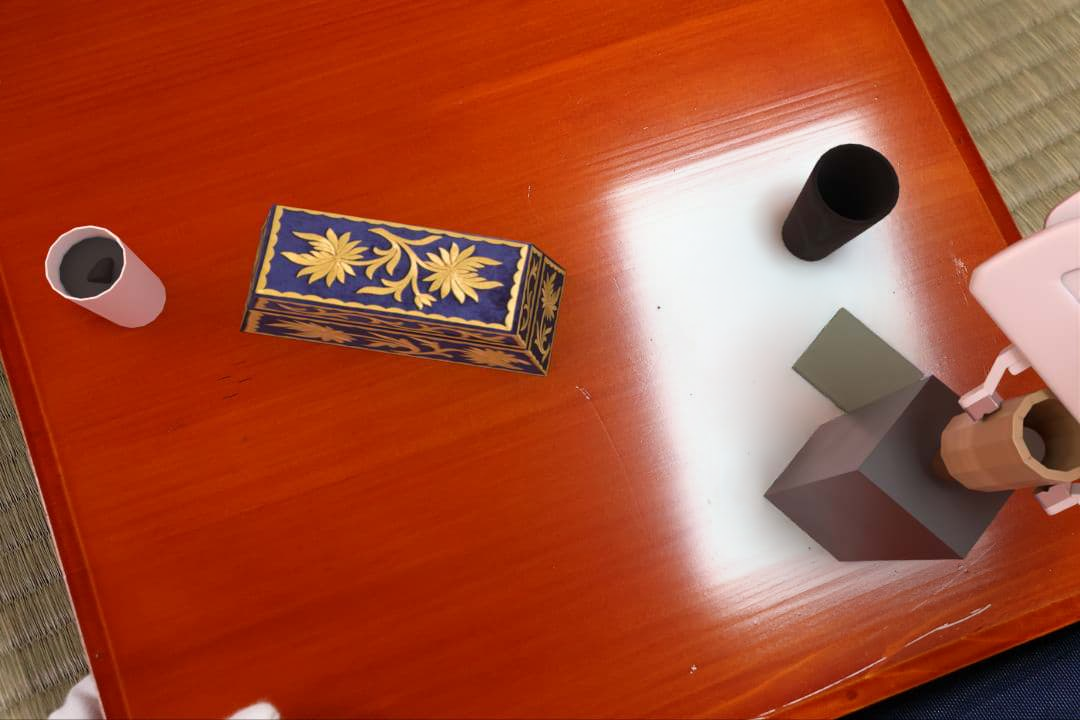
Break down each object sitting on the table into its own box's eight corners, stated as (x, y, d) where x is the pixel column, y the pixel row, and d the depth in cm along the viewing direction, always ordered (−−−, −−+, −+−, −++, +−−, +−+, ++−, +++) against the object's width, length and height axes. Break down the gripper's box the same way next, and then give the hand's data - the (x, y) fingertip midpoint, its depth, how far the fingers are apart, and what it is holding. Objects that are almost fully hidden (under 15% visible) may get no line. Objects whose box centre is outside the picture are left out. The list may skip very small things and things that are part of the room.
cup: (760, 210, 87) (799, 155, 75) (829, 191, 88) (879, 133, 76) (787, 280, 85) (832, 234, 74) (858, 259, 86) (913, 211, 74)
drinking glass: (174, 266, 83) (131, 226, 73) (166, 333, 81) (121, 301, 72) (104, 264, 83) (50, 224, 73) (94, 331, 81) (39, 299, 71)
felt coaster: (922, 375, 84) (925, 373, 83) (874, 436, 82) (876, 435, 81) (840, 308, 85) (842, 306, 84) (791, 367, 83) (793, 366, 83)
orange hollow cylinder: (1033, 445, 56) (1120, 428, 49) (991, 507, 55) (1073, 500, 48) (967, 395, 57) (1043, 370, 49) (925, 456, 56) (995, 440, 48)
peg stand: (896, 487, 81) (1130, 440, 51) (839, 561, 79) (1047, 558, 49) (820, 424, 82) (1005, 341, 52) (763, 495, 80) (919, 452, 50)
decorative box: (262, 226, 84) (234, 186, 76) (566, 271, 84) (573, 237, 76) (237, 331, 82) (205, 302, 73) (551, 377, 82) (557, 355, 73)
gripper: (1112, 167, 43) (880, 327, 51) (1417, 510, 40) (1118, 624, 47) (1114, 163, 48) (903, 308, 56) (1385, 466, 45) (1119, 576, 52)
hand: (1003, 455), depth 52 cm, fingers closed on orange hollow cylinder, 5 cm apart
